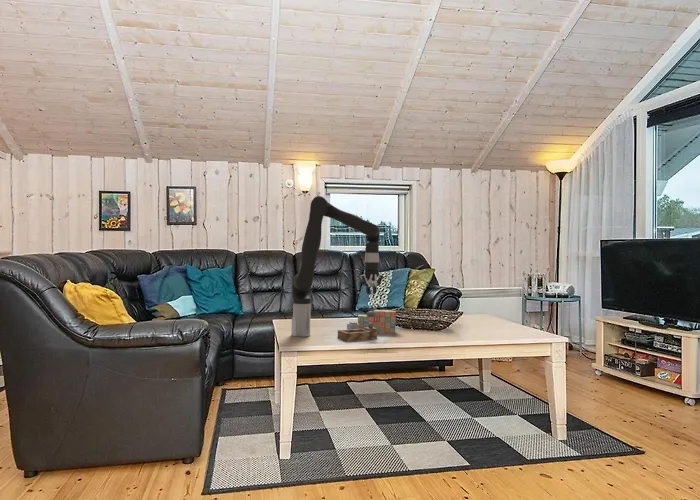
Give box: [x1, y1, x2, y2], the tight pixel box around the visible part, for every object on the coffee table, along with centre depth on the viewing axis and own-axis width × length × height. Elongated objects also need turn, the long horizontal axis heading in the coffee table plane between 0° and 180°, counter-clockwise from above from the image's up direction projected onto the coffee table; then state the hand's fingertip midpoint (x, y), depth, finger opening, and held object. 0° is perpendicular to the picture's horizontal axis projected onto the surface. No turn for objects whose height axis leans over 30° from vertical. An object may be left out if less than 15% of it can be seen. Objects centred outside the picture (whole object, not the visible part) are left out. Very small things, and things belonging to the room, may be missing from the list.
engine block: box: [346, 321, 359, 330], centre depth 272 cm, size 5×5×7 cm
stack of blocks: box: [357, 309, 397, 334], centre depth 283 cm, size 21×6×12 cm, turn 87°
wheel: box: [366, 310, 375, 317], centre depth 265 cm, size 5×5×2 cm
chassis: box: [337, 322, 378, 342], centre depth 262 cm, size 19×10×8 cm, turn 118°
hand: (371, 293), depth 265 cm, fingers open, 3 cm apart
